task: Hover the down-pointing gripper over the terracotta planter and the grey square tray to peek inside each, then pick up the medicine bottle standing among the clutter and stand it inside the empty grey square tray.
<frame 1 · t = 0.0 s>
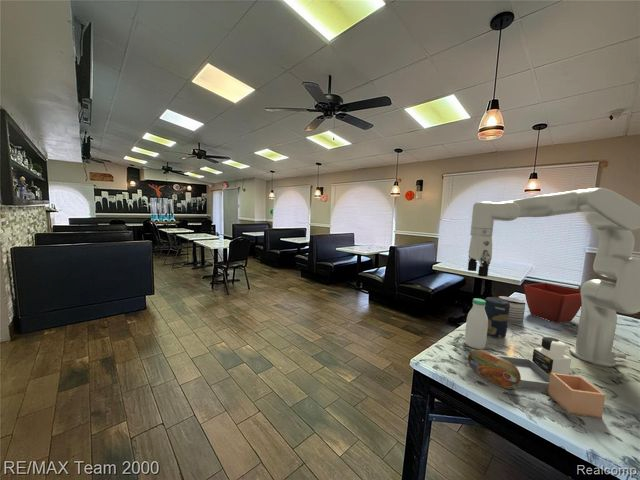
hand: (477, 273, 102), 31 cm above the table, fingers open, 9 cm apart
plant pot: (549, 318, 137), on the table
grey square tray: (520, 374, 86), on the table
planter: (573, 405, 73), on the table
canister: (493, 335, 115), on the table
milk bottle: (474, 345, 105), on the table
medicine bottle: (549, 371, 88), on the table
tin: (491, 379, 83), on the table
can: (509, 320, 133), on the table
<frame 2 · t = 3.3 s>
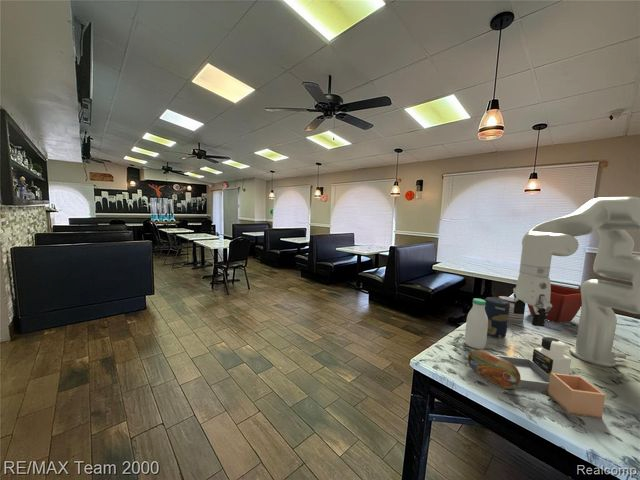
hand: (527, 319, 84), 20 cm above the table, fingers open, 9 cm apart
nothing on the table moved.
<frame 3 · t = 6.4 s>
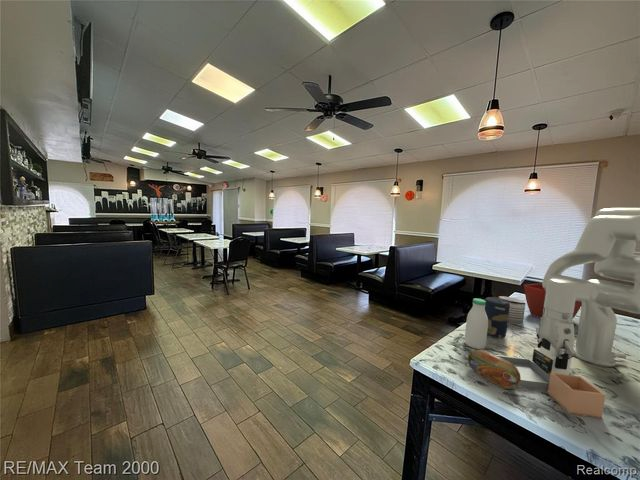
hand: (550, 360, 88), 4 cm above the table, fingers closed on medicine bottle, 8 cm apart
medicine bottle: (549, 371, 89), on the table, touching gripper
everything else where it was.
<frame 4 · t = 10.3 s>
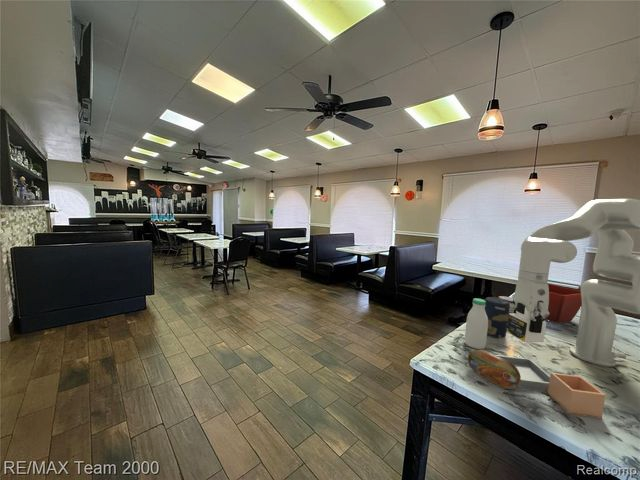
hand: (525, 326, 84), 18 cm above the table, fingers closed on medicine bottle, 8 cm apart
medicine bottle: (524, 337, 84), point 14 cm above the table, touching gripper
everything else where it was.
when the fingers open (5 cm above the table, at t = 13.9 s): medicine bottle stays where it is, resting on grey square tray.
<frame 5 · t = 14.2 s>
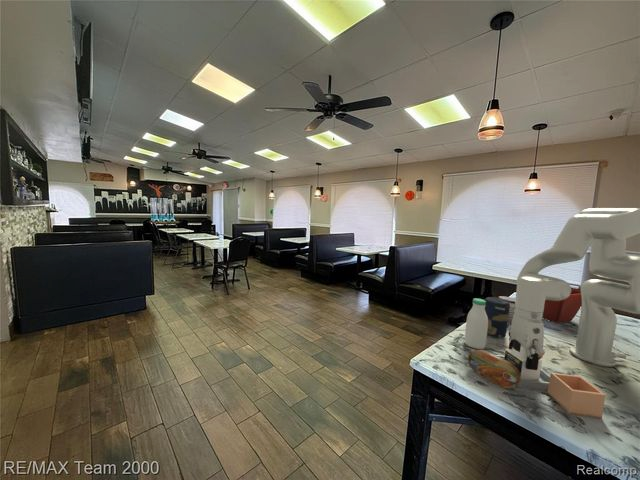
hand: (521, 360, 85), 5 cm above the table, fingers open, 9 cm apart
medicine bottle: (520, 374, 86), resting on grey square tray
everything else where it was.
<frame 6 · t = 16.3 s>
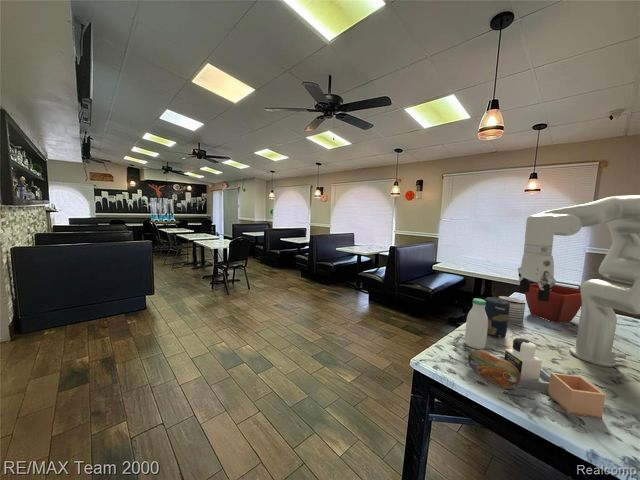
hand: (533, 296, 89), 27 cm above the table, fingers open, 9 cm apart
nothing on the table moved.
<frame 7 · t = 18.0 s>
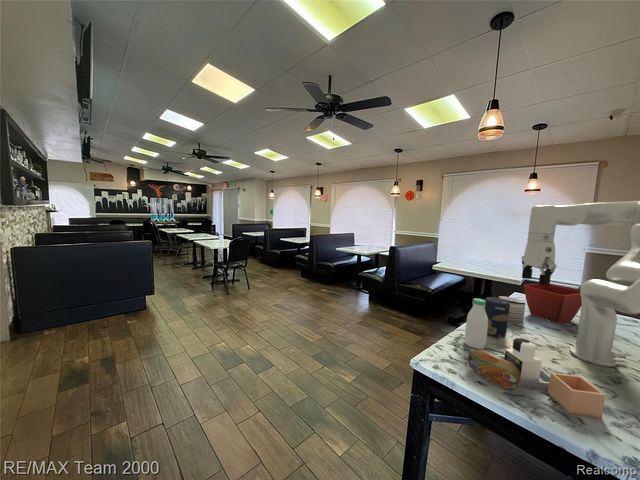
hand: (534, 281, 95), 30 cm above the table, fingers open, 9 cm apart
nothing on the table moved.
at the end: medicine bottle inside the target area on the grey square tray (0.2 cm from its centre), point 0.2 cm above the grey square tray's base; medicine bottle tilted 0°; the gripper is holding nothing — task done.
